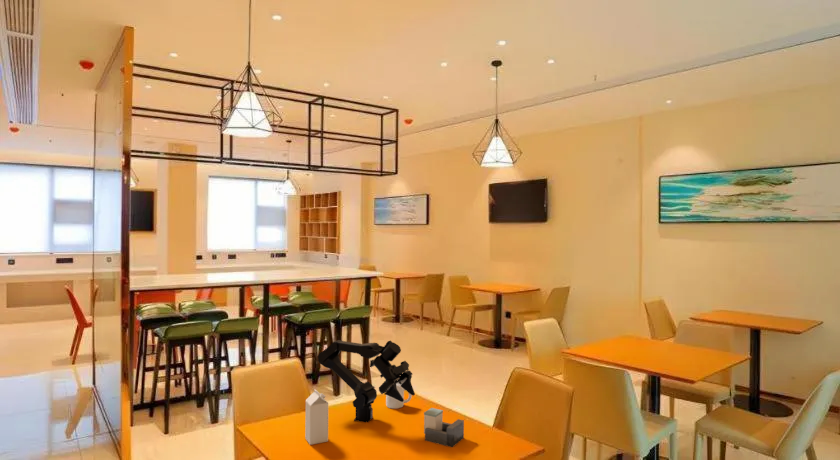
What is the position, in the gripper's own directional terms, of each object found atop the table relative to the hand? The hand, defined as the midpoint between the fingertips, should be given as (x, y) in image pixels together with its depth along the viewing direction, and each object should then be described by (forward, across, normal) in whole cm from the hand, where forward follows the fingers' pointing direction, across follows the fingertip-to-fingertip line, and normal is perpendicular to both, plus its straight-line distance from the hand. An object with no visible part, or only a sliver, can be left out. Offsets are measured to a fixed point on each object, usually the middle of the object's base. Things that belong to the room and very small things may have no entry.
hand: (408, 398), depth 205 cm
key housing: (+21, -1, -2) cm, 21 cm away
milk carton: (-10, -27, +27) cm, 39 cm away
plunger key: (+16, -1, 0) cm, 16 cm away
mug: (-4, +22, +22) cm, 31 cm away
